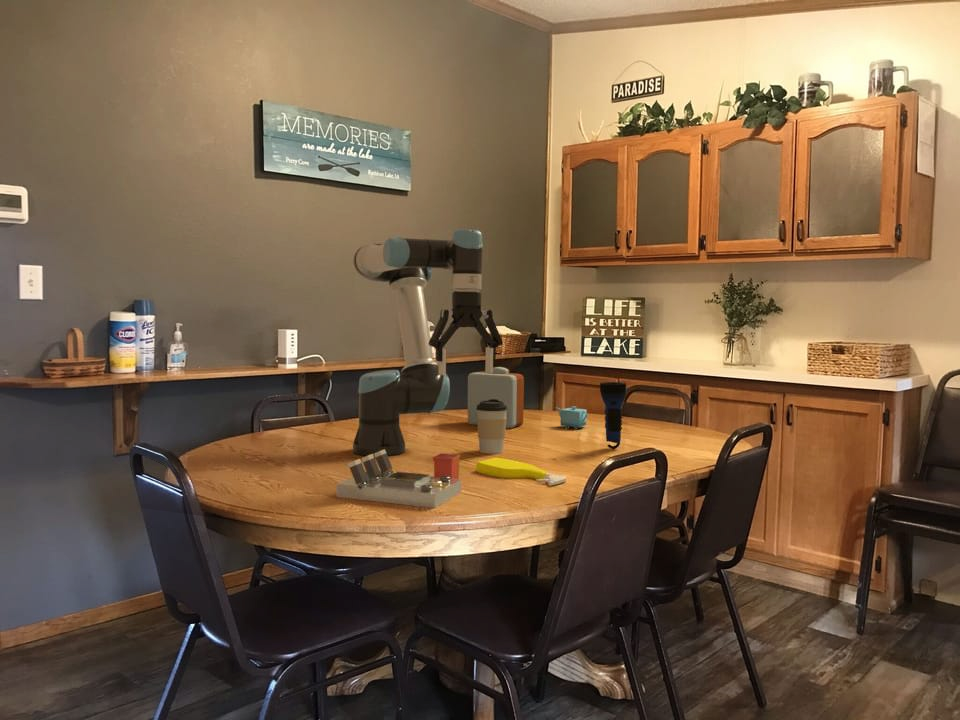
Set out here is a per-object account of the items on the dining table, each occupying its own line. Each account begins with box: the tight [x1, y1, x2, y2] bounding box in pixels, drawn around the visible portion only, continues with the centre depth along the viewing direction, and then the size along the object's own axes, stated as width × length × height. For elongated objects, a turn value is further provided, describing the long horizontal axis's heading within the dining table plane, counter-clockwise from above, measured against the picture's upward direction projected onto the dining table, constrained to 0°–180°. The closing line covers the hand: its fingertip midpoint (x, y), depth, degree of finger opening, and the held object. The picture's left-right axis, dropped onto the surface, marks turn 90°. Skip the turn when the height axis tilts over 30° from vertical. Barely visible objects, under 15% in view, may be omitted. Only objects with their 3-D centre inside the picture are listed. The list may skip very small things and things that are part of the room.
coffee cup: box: [477, 399, 507, 455], centre depth 228 cm, size 9×9×15 cm
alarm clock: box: [467, 366, 525, 429], centre depth 276 cm, size 18×9×21 cm, turn 58°
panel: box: [335, 469, 462, 509], centre depth 177 cm, size 24×15×4 cm, turn 69°
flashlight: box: [599, 381, 627, 450], centre depth 234 cm, size 8×8×20 cm
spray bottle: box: [475, 457, 567, 486], centre depth 197 cm, size 3×11×25 cm
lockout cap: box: [432, 452, 461, 479], centre depth 187 cm, size 5×5×7 cm
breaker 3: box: [374, 449, 393, 473], centre depth 185 cm, size 2×2×5 cm
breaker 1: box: [347, 458, 368, 484], centre depth 174 cm, size 2×2×5 cm
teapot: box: [556, 406, 588, 430], centre depth 273 cm, size 12×6×8 cm, turn 60°
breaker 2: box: [360, 454, 381, 479], centre depth 179 cm, size 2×2×5 cm
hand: (466, 373), depth 202 cm, fingers open, 13 cm apart
